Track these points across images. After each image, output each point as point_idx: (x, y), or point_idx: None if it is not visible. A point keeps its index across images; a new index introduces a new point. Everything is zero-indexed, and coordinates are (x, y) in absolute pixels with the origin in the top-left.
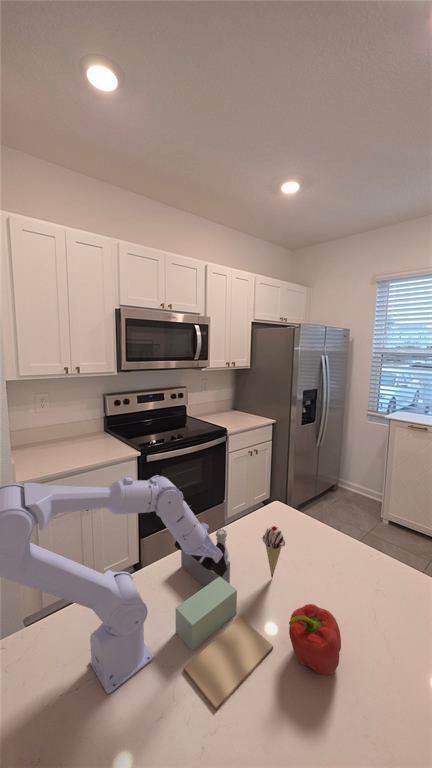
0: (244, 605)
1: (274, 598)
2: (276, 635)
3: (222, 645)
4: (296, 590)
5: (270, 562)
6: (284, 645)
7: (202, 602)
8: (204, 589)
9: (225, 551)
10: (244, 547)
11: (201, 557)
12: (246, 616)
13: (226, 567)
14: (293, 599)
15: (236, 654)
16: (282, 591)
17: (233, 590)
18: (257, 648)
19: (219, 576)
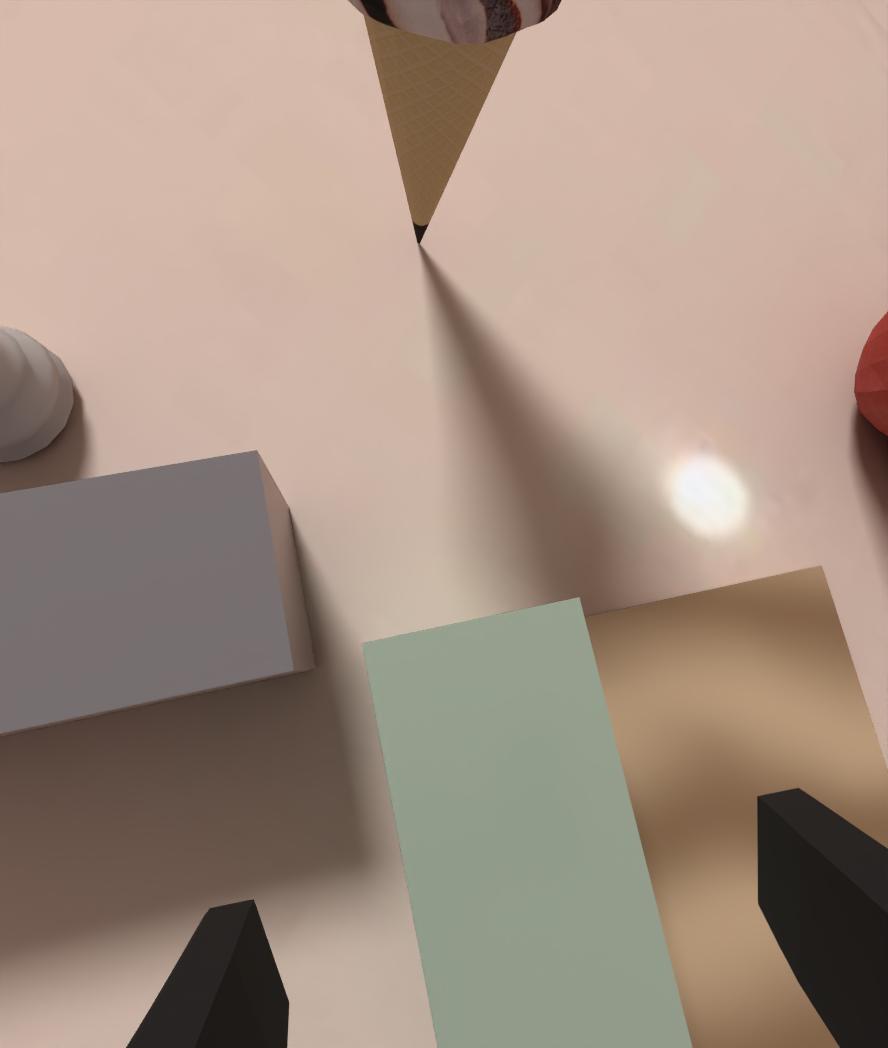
0: (502, 530)
1: (552, 338)
2: (756, 499)
3: (698, 837)
4: (569, 191)
5: (440, 164)
6: (820, 503)
7: (551, 964)
8: (426, 867)
9: (23, 360)
10: (45, 192)
11: (269, 956)
12: (576, 570)
13: (831, 813)
14: (612, 253)
15: (782, 790)
16: (534, 262)
17: (570, 627)
18: (799, 654)
19: (291, 600)
